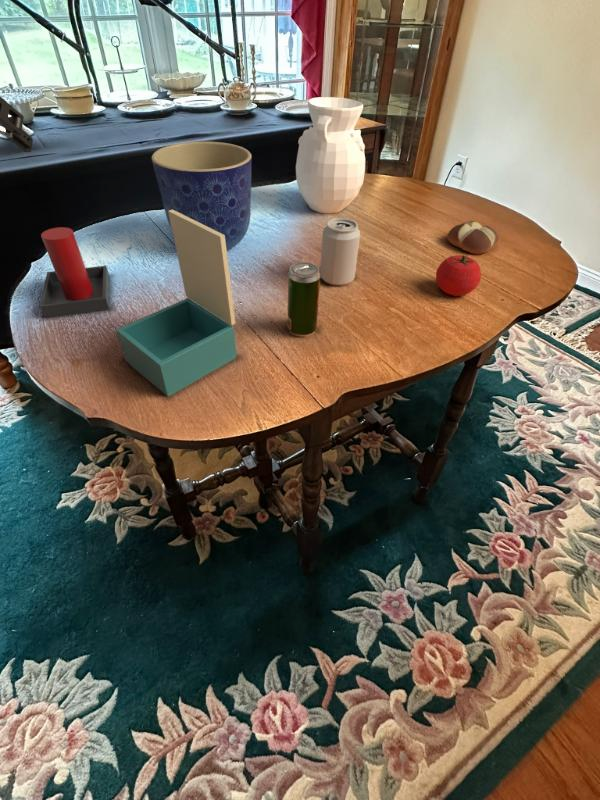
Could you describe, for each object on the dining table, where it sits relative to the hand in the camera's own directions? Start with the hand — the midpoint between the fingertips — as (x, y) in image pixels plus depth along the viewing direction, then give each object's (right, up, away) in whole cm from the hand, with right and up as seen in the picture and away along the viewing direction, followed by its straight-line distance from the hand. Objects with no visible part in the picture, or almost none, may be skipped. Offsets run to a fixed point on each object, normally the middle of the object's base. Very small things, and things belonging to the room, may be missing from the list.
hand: (2, 143), depth 62 cm
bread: (+86, +2, +45) cm, 97 cm away
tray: (0, -17, +23) cm, 28 cm away
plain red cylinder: (0, -16, +22) cm, 27 cm away
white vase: (+51, +17, +60) cm, 80 cm away
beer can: (+43, -24, +17) cm, 53 cm away
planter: (+22, +1, +42) cm, 47 cm away
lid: (+28, -17, +3) cm, 33 cm away
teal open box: (+23, -30, +10) cm, 39 cm away
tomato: (+75, -14, +28) cm, 82 cm away
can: (+51, -11, +31) cm, 61 cm away
